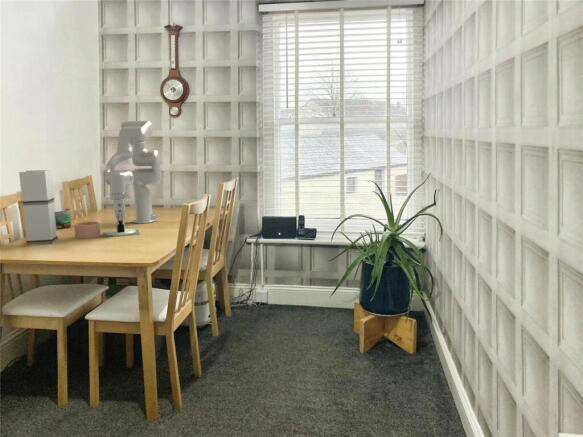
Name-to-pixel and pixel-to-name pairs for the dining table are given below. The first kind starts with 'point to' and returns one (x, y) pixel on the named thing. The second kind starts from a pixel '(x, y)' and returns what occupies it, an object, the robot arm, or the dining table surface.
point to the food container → (63, 219)
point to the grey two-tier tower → (38, 206)
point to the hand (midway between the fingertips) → (120, 230)
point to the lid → (116, 233)
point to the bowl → (87, 229)
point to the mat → (118, 236)
